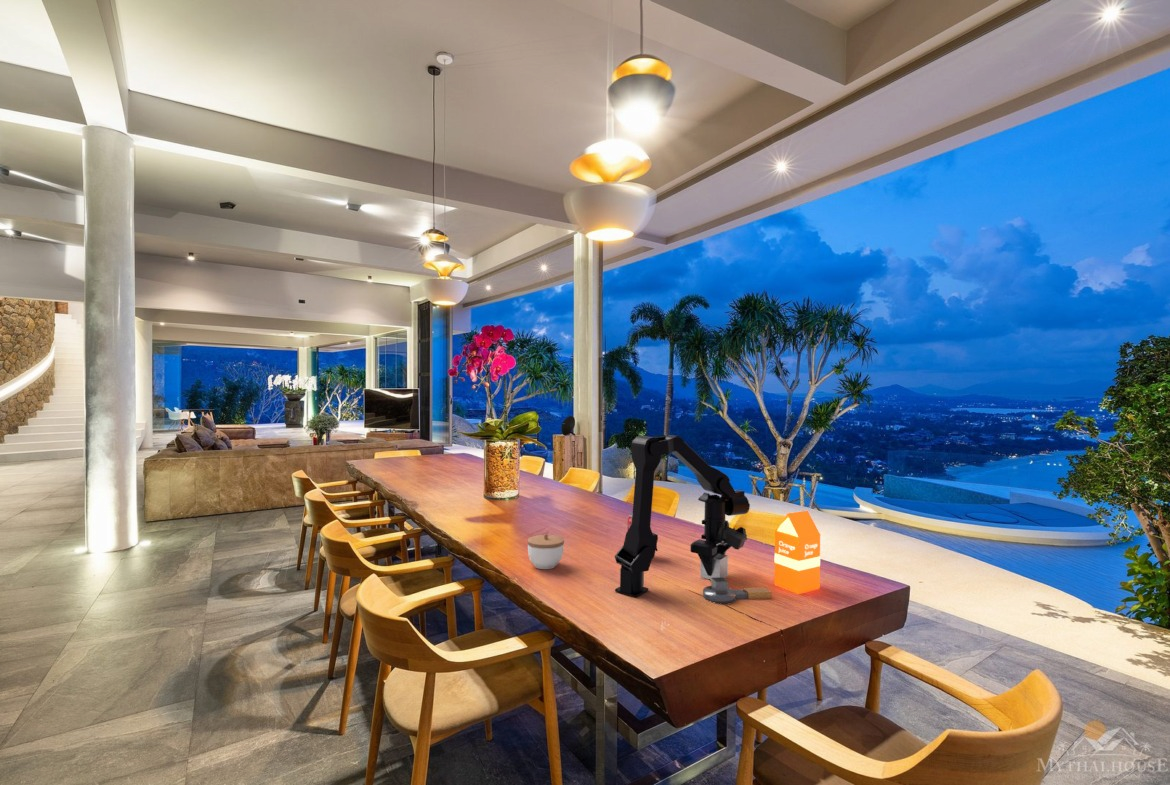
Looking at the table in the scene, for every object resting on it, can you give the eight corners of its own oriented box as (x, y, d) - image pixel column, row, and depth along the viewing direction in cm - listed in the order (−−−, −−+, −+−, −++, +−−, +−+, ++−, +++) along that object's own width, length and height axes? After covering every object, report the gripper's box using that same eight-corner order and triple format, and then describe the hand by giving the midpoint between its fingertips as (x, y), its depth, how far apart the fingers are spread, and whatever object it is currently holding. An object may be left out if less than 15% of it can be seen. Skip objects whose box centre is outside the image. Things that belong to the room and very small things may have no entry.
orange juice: (820, 588, 133) (821, 513, 133) (798, 594, 129) (799, 516, 129) (795, 579, 140) (795, 507, 140) (773, 584, 135) (774, 510, 136)
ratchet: (710, 604, 121) (710, 585, 121) (698, 591, 129) (698, 574, 129) (776, 602, 123) (776, 584, 123) (760, 590, 131) (760, 572, 131)
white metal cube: (719, 582, 136) (719, 560, 136) (700, 577, 140) (700, 555, 140) (727, 576, 141) (727, 555, 141) (708, 572, 144) (709, 551, 144)
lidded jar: (525, 561, 151) (525, 529, 151) (560, 559, 153) (560, 528, 154) (529, 573, 141) (529, 539, 141) (566, 571, 143) (567, 538, 143)
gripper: (729, 528, 128) (729, 589, 128) (754, 515, 143) (754, 570, 143) (690, 521, 135) (689, 579, 135) (717, 510, 150) (716, 562, 149)
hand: (714, 572), depth 140 cm, fingers closed on white metal cube, 6 cm apart
